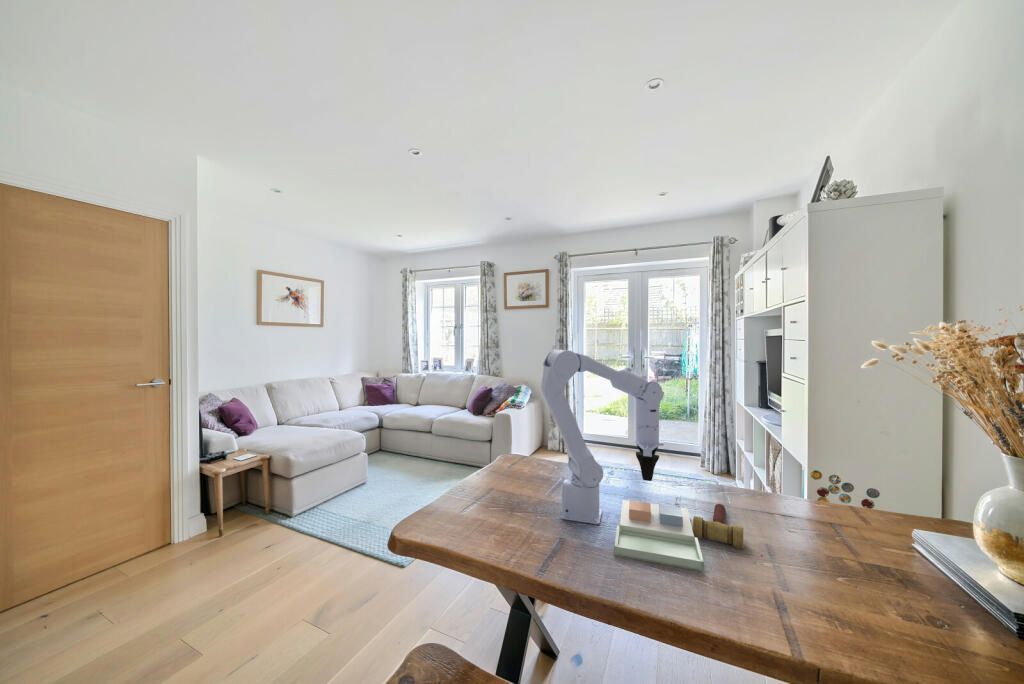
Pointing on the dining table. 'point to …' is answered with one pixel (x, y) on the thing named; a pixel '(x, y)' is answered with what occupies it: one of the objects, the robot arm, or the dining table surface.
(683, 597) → the dining table surface
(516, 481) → the dining table surface
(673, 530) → the board
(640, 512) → the tile terracotta
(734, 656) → the dining table surface
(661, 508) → the tile slate
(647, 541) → the tray
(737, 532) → the gavel
